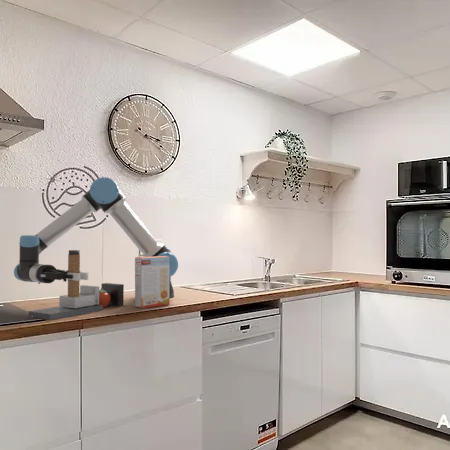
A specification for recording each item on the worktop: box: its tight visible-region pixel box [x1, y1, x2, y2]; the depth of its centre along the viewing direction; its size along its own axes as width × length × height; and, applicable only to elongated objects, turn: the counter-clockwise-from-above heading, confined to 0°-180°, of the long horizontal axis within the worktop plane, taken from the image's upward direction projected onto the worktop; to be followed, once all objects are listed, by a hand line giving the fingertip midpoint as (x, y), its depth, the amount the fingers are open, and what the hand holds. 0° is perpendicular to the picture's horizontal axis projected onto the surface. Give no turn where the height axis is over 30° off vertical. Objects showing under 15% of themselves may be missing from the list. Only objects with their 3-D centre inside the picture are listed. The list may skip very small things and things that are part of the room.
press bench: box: [28, 282, 125, 321], centre depth 172 cm, size 37×12×9 cm, turn 149°
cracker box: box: [134, 256, 170, 309], centre depth 185 cm, size 14×6×21 cm, turn 131°
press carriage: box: [58, 249, 100, 308], centre depth 171 cm, size 12×9×22 cm
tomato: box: [98, 288, 111, 309], centre depth 181 cm, size 7×7×8 cm
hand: (83, 276), depth 166 cm, fingers closed on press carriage, 3 cm apart
